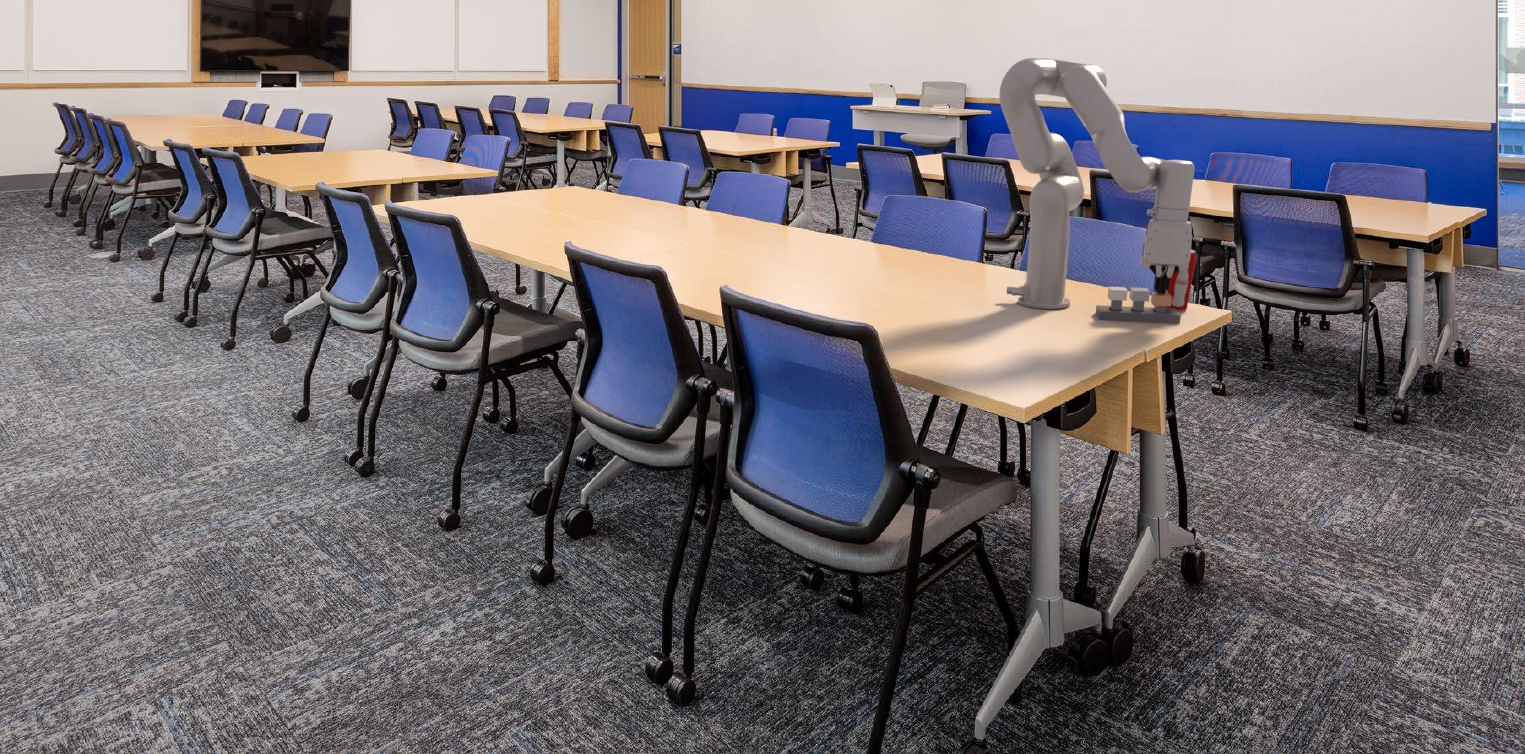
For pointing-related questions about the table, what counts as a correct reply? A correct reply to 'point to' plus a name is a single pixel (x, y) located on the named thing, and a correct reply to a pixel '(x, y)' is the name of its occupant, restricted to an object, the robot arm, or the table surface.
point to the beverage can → (1182, 285)
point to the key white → (1117, 297)
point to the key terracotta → (1161, 301)
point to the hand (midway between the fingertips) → (1160, 292)
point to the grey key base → (1137, 315)
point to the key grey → (1139, 298)
